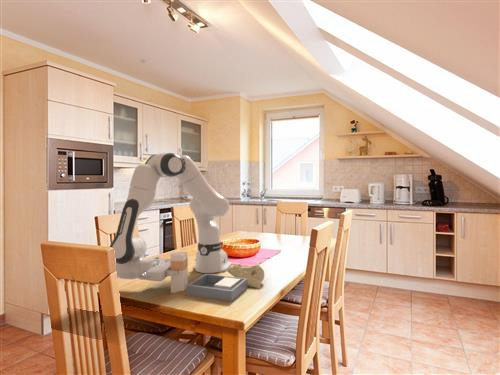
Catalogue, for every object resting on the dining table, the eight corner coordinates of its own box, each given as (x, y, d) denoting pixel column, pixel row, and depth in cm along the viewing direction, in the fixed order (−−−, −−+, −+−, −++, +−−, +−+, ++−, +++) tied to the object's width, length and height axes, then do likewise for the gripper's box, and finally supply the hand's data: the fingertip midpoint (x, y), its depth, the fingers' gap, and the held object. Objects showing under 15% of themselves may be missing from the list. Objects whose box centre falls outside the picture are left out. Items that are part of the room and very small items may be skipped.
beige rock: (271, 291, 139) (259, 263, 149) (269, 283, 133) (257, 255, 144) (238, 304, 136) (228, 274, 147) (235, 296, 131) (225, 266, 141)
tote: (206, 284, 141) (206, 273, 141) (247, 290, 134) (247, 278, 134) (186, 297, 126) (186, 285, 126) (231, 304, 119) (231, 291, 119)
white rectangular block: (225, 287, 134) (225, 277, 134) (240, 289, 132) (240, 279, 132) (214, 295, 125) (214, 284, 125) (230, 298, 122) (230, 286, 122)
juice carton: (175, 288, 137) (175, 251, 136) (187, 288, 136) (187, 251, 136) (170, 292, 131) (170, 254, 131) (183, 293, 131) (183, 255, 130)
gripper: (138, 268, 125) (172, 269, 123) (159, 256, 145) (188, 256, 143) (139, 284, 125) (172, 285, 123) (159, 269, 145) (188, 270, 144)
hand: (181, 270), depth 134 cm, fingers open, 6 cm apart
